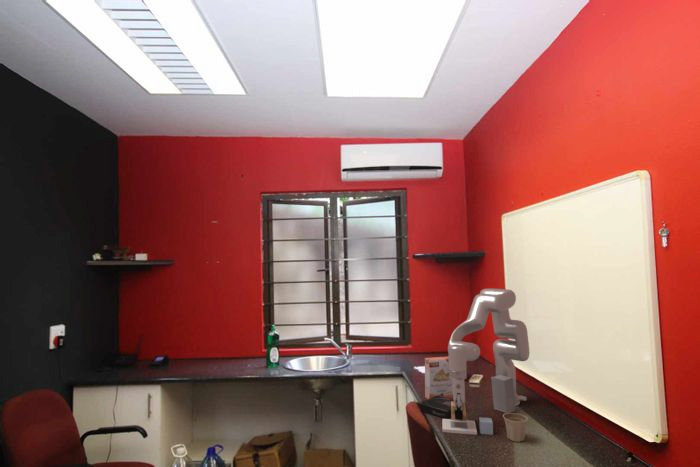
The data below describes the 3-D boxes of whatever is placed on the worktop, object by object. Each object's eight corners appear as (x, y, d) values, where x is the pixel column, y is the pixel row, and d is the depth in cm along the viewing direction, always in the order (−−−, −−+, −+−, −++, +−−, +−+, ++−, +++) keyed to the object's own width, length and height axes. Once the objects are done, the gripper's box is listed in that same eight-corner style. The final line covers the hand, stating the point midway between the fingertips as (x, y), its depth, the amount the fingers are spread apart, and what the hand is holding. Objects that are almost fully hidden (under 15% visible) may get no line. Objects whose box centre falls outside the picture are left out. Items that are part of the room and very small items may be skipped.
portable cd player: (466, 411, 201) (466, 402, 201) (447, 421, 189) (446, 412, 189) (437, 403, 212) (437, 395, 213) (417, 411, 200) (417, 403, 201)
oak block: (465, 416, 182) (465, 402, 182) (466, 421, 176) (465, 406, 177) (451, 415, 183) (451, 401, 184) (451, 420, 177) (451, 405, 178)
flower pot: (522, 433, 173) (521, 412, 174) (532, 443, 164) (532, 421, 164) (499, 434, 173) (499, 413, 173) (509, 444, 163) (508, 421, 164)
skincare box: (516, 411, 198) (514, 377, 199) (505, 414, 195) (504, 380, 196) (501, 406, 206) (500, 373, 207) (491, 409, 202) (490, 375, 203)
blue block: (491, 430, 177) (491, 418, 178) (493, 434, 172) (492, 422, 173) (479, 429, 178) (479, 417, 179) (480, 433, 173) (480, 421, 174)
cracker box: (429, 401, 214) (429, 360, 215) (424, 397, 219) (424, 357, 221) (454, 399, 217) (453, 358, 219) (448, 395, 223) (447, 355, 225)
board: (474, 423, 184) (474, 420, 184) (477, 434, 172) (477, 431, 172) (442, 421, 187) (442, 418, 187) (442, 432, 175) (442, 428, 175)
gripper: (467, 379, 172) (468, 424, 171) (465, 369, 189) (466, 410, 187) (449, 378, 174) (450, 423, 172) (448, 368, 190) (449, 409, 189)
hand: (458, 416), depth 180 cm, fingers closed on oak block, 6 cm apart
